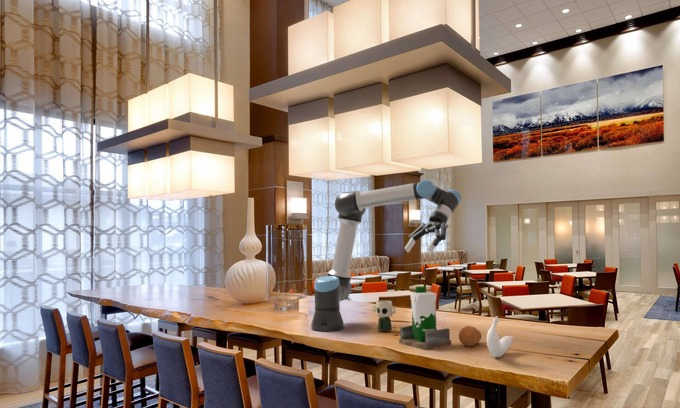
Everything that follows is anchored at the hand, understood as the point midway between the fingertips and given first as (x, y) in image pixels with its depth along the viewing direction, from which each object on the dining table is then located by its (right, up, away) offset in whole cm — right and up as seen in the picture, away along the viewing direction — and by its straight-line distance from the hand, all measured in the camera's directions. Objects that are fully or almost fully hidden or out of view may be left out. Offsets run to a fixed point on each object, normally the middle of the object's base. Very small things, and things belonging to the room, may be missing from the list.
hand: (417, 250), depth 186 cm
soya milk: (0, -33, -18) cm, 37 cm away
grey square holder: (0, -34, -18) cm, 39 cm away
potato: (+16, -34, -21) cm, 43 cm away
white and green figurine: (-13, -37, +7) cm, 40 cm away
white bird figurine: (+21, -32, -39) cm, 55 cm away
